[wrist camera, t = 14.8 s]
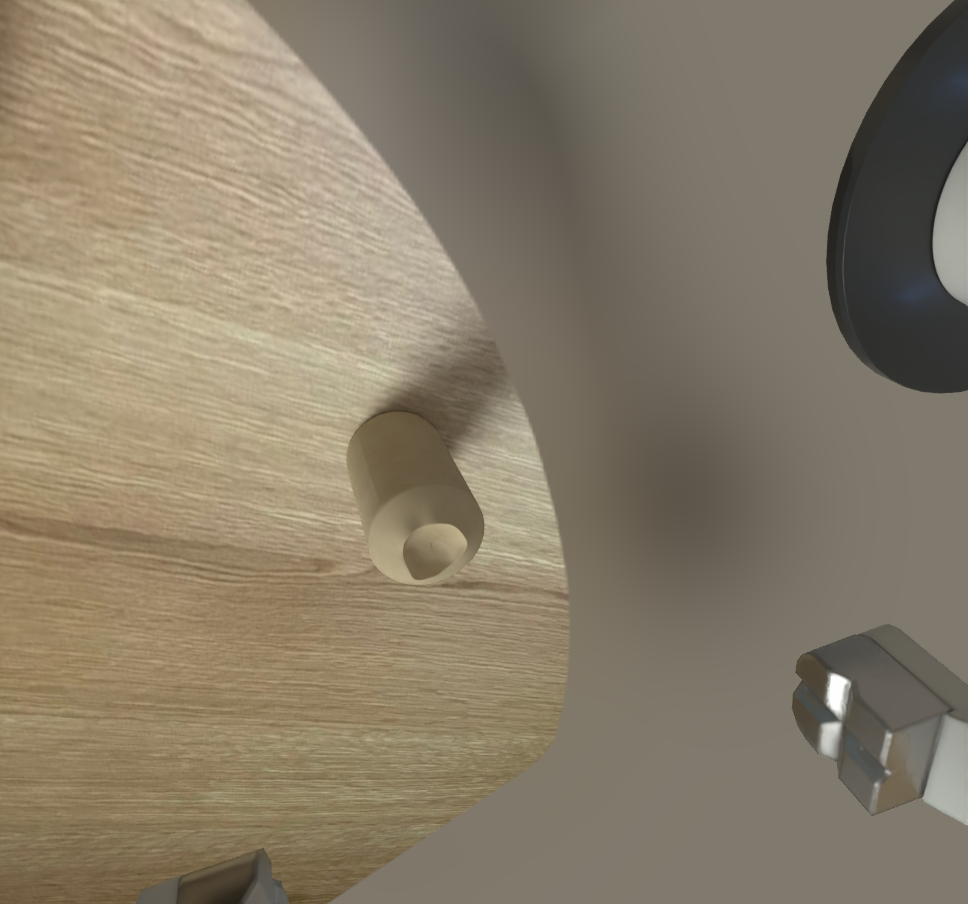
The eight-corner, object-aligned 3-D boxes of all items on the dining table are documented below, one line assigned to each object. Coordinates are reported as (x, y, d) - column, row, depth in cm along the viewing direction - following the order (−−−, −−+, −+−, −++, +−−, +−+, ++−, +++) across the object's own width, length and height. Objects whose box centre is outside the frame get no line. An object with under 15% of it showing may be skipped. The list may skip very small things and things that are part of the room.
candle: (401, 512, 42) (441, 621, 33) (325, 466, 39) (347, 572, 31) (461, 443, 41) (517, 536, 32) (387, 391, 38) (428, 478, 30)
